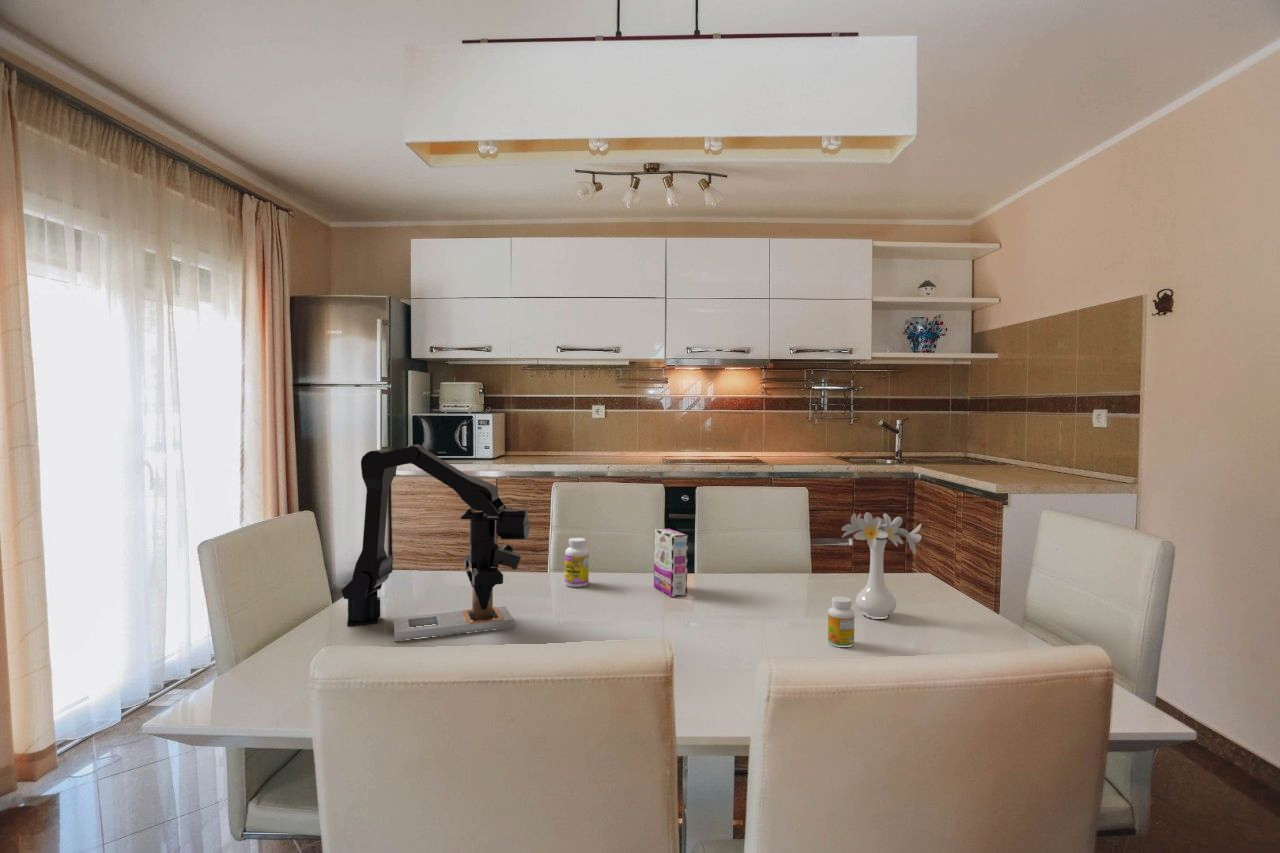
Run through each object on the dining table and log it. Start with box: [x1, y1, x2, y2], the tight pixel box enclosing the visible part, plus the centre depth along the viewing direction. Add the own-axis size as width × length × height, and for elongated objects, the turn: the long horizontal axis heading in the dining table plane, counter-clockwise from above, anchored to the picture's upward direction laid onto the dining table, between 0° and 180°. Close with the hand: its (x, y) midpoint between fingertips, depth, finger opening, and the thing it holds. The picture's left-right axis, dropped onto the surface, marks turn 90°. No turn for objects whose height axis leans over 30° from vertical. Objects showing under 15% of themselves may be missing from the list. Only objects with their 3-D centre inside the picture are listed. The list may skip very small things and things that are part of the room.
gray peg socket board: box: [393, 605, 514, 642], centre depth 146 cm, size 25×10×2 cm, turn 112°
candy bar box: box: [653, 528, 689, 598], centre depth 176 cm, size 11×5×16 cm, turn 25°
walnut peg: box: [471, 587, 494, 621], centre depth 148 cm, size 4×4×9 cm
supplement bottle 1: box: [564, 537, 590, 588], centre depth 181 cm, size 7×7×13 cm
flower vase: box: [841, 511, 923, 617], centre depth 157 cm, size 13×18×25 cm
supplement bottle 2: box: [827, 596, 855, 646], centre depth 138 cm, size 5×5×10 cm
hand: (482, 606), depth 148 cm, fingers closed on walnut peg, 4 cm apart
